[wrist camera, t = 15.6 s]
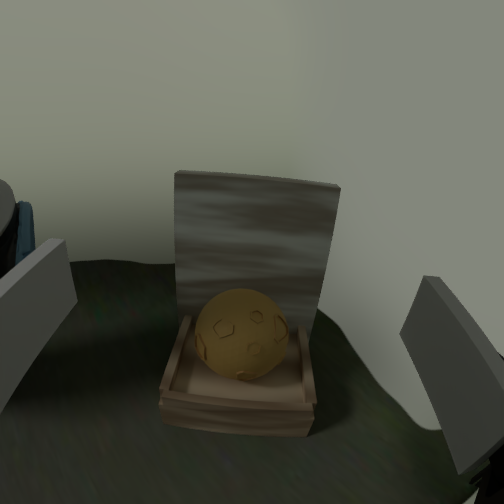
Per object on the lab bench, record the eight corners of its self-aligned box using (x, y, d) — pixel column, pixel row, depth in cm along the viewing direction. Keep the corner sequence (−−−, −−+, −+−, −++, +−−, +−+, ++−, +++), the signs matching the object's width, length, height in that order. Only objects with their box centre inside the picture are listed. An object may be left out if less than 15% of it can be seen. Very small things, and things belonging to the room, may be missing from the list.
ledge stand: (314, 436, 29) (388, 237, 19) (155, 422, 29) (118, 213, 19) (303, 346, 43) (336, 184, 33) (183, 335, 43) (179, 170, 33)
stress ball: (211, 343, 38) (159, 332, 30) (258, 284, 38) (216, 257, 30) (263, 397, 33) (218, 403, 24) (317, 333, 33) (290, 319, 25)
